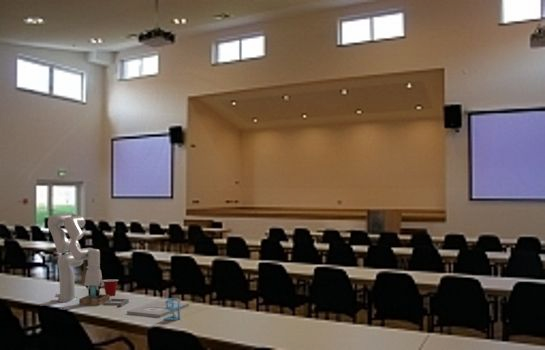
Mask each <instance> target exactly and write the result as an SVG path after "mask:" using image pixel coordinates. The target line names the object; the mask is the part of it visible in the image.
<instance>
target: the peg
mask: <svg viewBox="0 0 545 350" xmlns="http://www.w3.org/2000/svg"><path fill="white" fill-rule="evenodd" d="M96 290H97V288H96V286H90V299H98V296H96Z"/></svg>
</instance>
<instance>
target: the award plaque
mask: <svg viewBox="0 0 545 350" xmlns="http://www.w3.org/2000/svg"><path fill="white" fill-rule="evenodd" d="M165 301H166V300H155V301H152V302H150V303H147V304H143V305H140V306H137V307H135V308H132V309H130V310H127V311H126V314H127V315H131V316H132V315H134V316H140V317H141V316H143V317H150V318H151V317H152V318H153V317H154V318H159V319H160V318H162V317H165V316H168V315H170V314H172V313H171V311H170V310H168V309H165V307H166V306H167V305H166V302H165ZM173 302H174V305H175V306H178V303H179V302H178V301H173ZM167 304H168V307H169V306H172V303H170V302H168V303H167ZM179 306H181V308H180V310H183V309H185V308H188V307H189V306H190V303H188V302H180V303H179ZM173 312H174V313H175V312H178V311H177V309H175V310H173Z"/></svg>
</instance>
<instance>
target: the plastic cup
mask: <svg viewBox="0 0 545 350" xmlns="http://www.w3.org/2000/svg"><path fill="white" fill-rule="evenodd" d="M102 282H103V283H104V286H103V287H104V292H105V295H110V297H115V296H116V292H117V287H118V282H119V279H114V278H113V279H102Z"/></svg>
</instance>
